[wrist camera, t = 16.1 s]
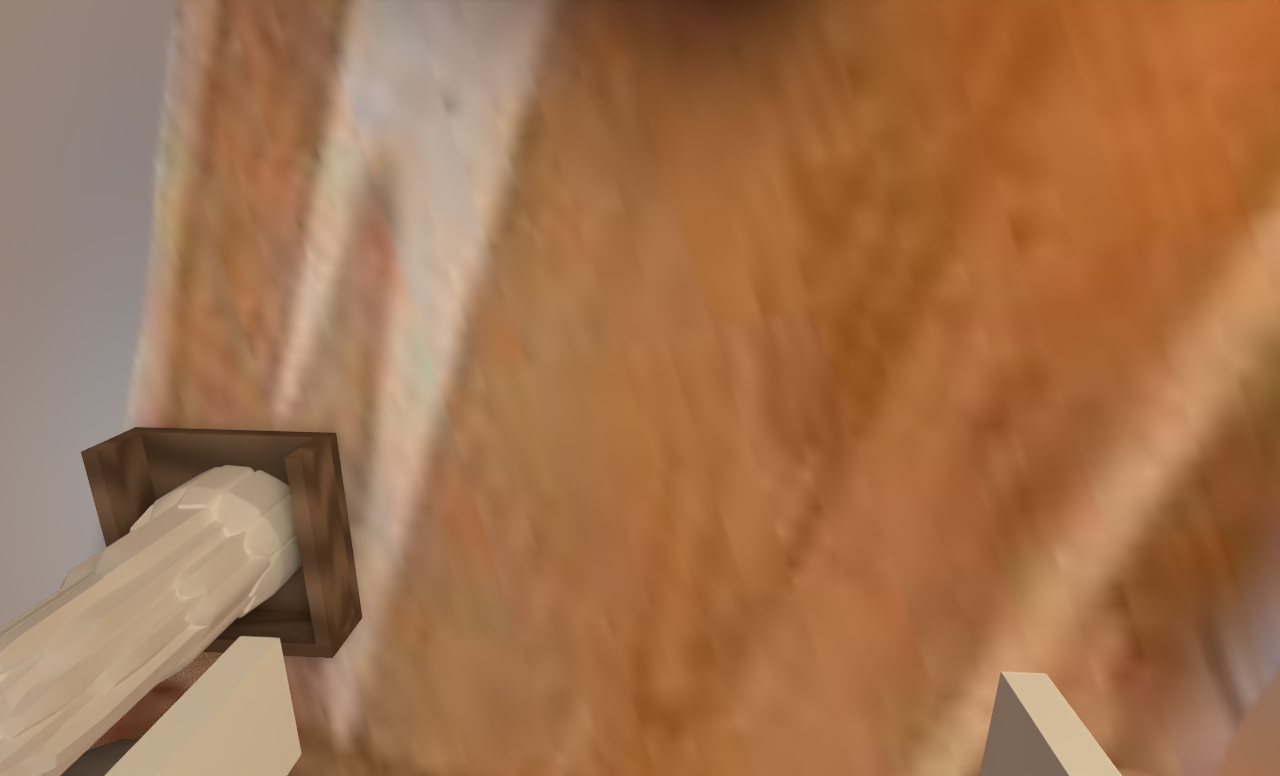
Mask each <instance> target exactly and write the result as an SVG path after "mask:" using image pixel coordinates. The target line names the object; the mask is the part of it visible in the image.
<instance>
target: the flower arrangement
mask: <svg viewBox="0 0 1280 776" xmlns="http://www.w3.org/2000/svg"><path fill="white" fill-rule="evenodd" d="M139 740H140V739H121V740H118V741H115V742H112V743H109V744H106V745H104V746H101V747H98V748H95V749H92V750H89V751H86V752H85V753H83V754H82V755H81V756H80V757H79V758H78V759H77V760H76V761H75V762H74V763H73V764H72V765H71V766H70V767H68V768H67V769H66V770H65V771H64V772H63V773H62V774H61V775H60V776H105V775H106V774H107V773H108V771H109V770H110V769H111V768H112V767H113V766H114V765H115V764H116V763H117V762H118V761H119V760H120V759H121V758H122V757H123V756H124V755H125V754H126V753H127V752H128V751H129V750H130V749H131V748H132V747H133V746H134V745H135V744H136V743H137V742H138V741H139Z"/></svg>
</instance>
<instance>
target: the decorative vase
mask: <svg viewBox="0 0 1280 776" xmlns="http://www.w3.org/2000/svg"><path fill="white" fill-rule="evenodd" d="M301 566H302V560H301V554H300V548H299V542H298V536H297V530H296V525H295V519H294V513H293V507H292V501H291V495H290V489H289V486H288V485H287V484H285V483H284V482H282V481H281V480H279V479H277V478H276V477H274V476H272V475H270V474H268V473H266V472H264V471H261V470H258V471H256V472H254V470H253V469H252V468H250V467H243V466H233V465H224V466H222V467H214V468H212V469H210V470H208V471H205V472H203V473H201V474H199V475H197V476H196V477H194V478H192V479H191V480H189V481H187V482H186V483H184V484H182V485H181V486H179V487H177V488H176V489H174V490H172V491H171V492H169V493H168V494H166V495H164V496H163V497H161V498H159V499H158V500H156V501H155V502H154V504H153V505H151V506H150V507H149V508H148V509H147V511H146V512H145V513H144V514H143V515H142V516H141V517H140V518H139V519H138V520H137V522H136V523H135V524H134V525H133V526H132V527H131V528H130V533H128V534H127V535H125V536H124V537H122V538H121V539H119V540H117V541H116V542H114V543H113V544H111V545H110V546H108V547H106V548H105V549H103V550H102V551H100V552H99V553H97V554H95V555H94V556H92V557H91V558H89V559H88V560H86V561H84V562H83V563H81V564H80V565H78V566H77V567H75V568H74V569H72V570H71V571H69V572H68V574H67V576H66V578H65V580H64V582H63V584H62V586H61V588H60V590H59V591H57V592H56V593H54V594H53V595H51V596H50V597H48V598H46V599H45V600H44V601H42V602H40V603H39V604H38V605H36V606H34V607H33V608H31V609H30V610H28V611H27V612H25V613H23V614H22V615H20V616H19V617H17V618H16V619H14V620H13V621H11V622H10V623H8V624H7V625H5V626H4V627H2V628H0V776H60V775H61V774H62V773H63V772H64V771H65V770H66V769H67V768H68V767H70V766H71V765H72V764H73V763H74V762H75V761H76V760H77V759H78V758H79V757H80V756H81V755H82V754H83V753H84V752H85V751H87V750H88V749H89V748H90V747H91V746H92V745H93V744H94V743H95V742H96V741H97V740H98V739H99V738H100V737H101V736H102V735H103V734H105V733H106V732H107V731H108V730H109V729H110V728H111V727H112V726H113V725H114V724H115V723H116V722H117V721H118V720H119V719H120V718H122V717H123V716H124V715H125V714H126V713H127V712H128V711H129V710H130V709H131V708H132V707H133V706H134V705H135V704H136V703H137V702H138V701H140V700H141V699H142V698H143V697H144V696H145V695H146V694H147V693H148V692H149V691H150V690H151V689H152V688H153V687H155V686H156V685H157V684H159V683H160V682H162V681H164V680H166V679H167V678H169V677H171V676H173V675H174V674H176V673H177V672H179V671H180V670H182V669H183V668H184V667H186V666H187V665H189V664H190V663H191V662H192V661H193V660H194V659H195V658H196V657H197V656H198V655H200V654H201V653H202V652H203V651H204V650H205V649H206V648H207V647H208V646H209V645H210V644H211V643H212V642H213V641H214V640H215V639H216V638H217V637H218V636H219V635H220V634H221V633H222V632H223V631H224V630H225V629H226V628H227V627H228V626H229V625H230V624H231V623H232V622H233V621H234V620H235V619H236V618H237V617H239V618H241V617H243V616H244V615H246V614H247V613H248V612H250V611H251V610H253V609H254V608H255V607H257V606H258V605H260V604H261V603H262V602H264V601H265V600H267V599H268V598H270V597H271V596H272V595H274V594H275V593H276V592H277V591H278V590H279V589H280V588H281V587H282V586H283V585H284V584H285V583H286V582H287V581H288V580H289V579H290V578H291V577H292V575H293V574H294V573H295V572H296V571H297V570H298V569H299V568H300V567H301Z"/></svg>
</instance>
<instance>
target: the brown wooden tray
mask: <svg viewBox="0 0 1280 776" xmlns="http://www.w3.org/2000/svg"><path fill="white" fill-rule="evenodd" d="M81 454H82V457H83V461H84V465H85V468H86V472H87V476H88V480H89V483H90V487H91V491H92V495H93V498H94V502H95V506H96V510H97V513H98V517H99V521H100V525H101V528H102V532H103V536H104V539H105V543H106V547H108V546H110V545H111V544H113V543H114V542H116V541H117V540H119V539H121V538H122V537H124V536H125V535H127V534H128V533H130V528H131V527H132V526H133V525H134V524H135V523H136V522H137V520H138V519H139V518H140V517H141V516H142V515H143V514H144V513H145V512H146V511H147V509H148V508H149V507H150V506H151V505H153V504H154V502H155V501H156V500H158V499H159V498H161V497H163V496H164V495H166V494H168V493H169V492H171V491H172V490H174V489H176V488H177V487H179V486H181V485H182V484H184V483H186V482H187V481H189V480H191V479H192V478H194V477H196V476H197V475H199V474H201V473H203V472H205V471H208V470H210V469H212V468H214V467H222V466H224V465H233V466H243V467H250V468H252V469H253V470H254V472H256V471H258V470H261V471H264V472H266V473H268V474H270V475H272V476H274V477H276V478H277V479H279V480H281V481H282V482H284V483H285V484H287V485H288V486H289V489H290V495H291V501H292V507H293V513H294V519H295V525H296V530H297V536H298V542H299V548H300V554H301V560H302V566H301V567H300V568H299V569H298V570H297V571H296V572H295V573H294V574H293V575H292V577H291V578H290V579H289V580H288V581H287V582H286V583H285V584H284V585H283V586H282V587H281V588H280V589H279V590H278V591H277V592H276V593H275V594H274V595H272V596H271V597H270V598H268V599H267V600H265V601H264V602H262V603H261V604H260V605H258V606H257V607H255V608H254V609H253V610H251V611H250V612H248V613H247V614H246V615H244V616H243V617H241V618H239V617H237V618H236V619H235V620H234V621H233V622H232V623H231V624H230V625H229V626H228V627H227V628H226V629H225V630H224V631H223V632H222V633H221V634H220V635H219V636H218V637H217V638H216V639H215V640H214V641H213V642H212V643H211V644H210V645H209V646H208V647H207V648H206V649H205V650H204V651H203V652H222V653H224V652H225V651H226V650H227V649H228V648H229V647H230V646H231V645H232V644H233V643H234V642H235V641H236V640H237V639H238V638H239V637H240V636H249V637H271V638H280V642H281V647H282V653H283V655H284V656H305V657H326V658H333V657H334V655H335V654H336V653H337V651H338V650H339V649H340V647H341V646H342V644H343V643H344V642H345V640H346V639H347V638H348V636H349V635H350V634H351V632H352V631H353V629H354V628H355V627H356V625H357V624H358V623H359V621H360V620H361V619H362V613H361V606H360V599H359V592H358V585H357V578H356V571H355V564H354V557H353V550H352V543H351V536H350V529H349V521H348V514H347V507H346V500H345V493H344V486H343V479H342V472H341V465H340V458H339V451H338V444H337V437H336V433H316V432H281V431H245V430H210V429H175V428H140V427H135V428H133V429H131V430H129V431H127V432H124V433H122V434H120V435H118V436H115V437H113V438H111V439H109V440H107V441H104V442H102V443H100V444H98V445H95V446H93V447H91V448H89V449H86V450H84V451H82V452H81Z"/></svg>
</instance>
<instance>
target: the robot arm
mask: <svg viewBox="0 0 1280 776" xmlns="http://www.w3.org/2000/svg"><path fill="white" fill-rule="evenodd" d="M300 755H301V749H300V743H299V738H298V733H297V727H296V722H295V717H294V711H293V706H292V701H291V695H290V690H289V685H288V679H287V674H286V669H285V663H284V658H283V653H282V647H281V642H280V638H271V637H249V636H240V637H239V638H238V639H237V640H236V641H235V642H234V643H233V644H232V645H231V646H230V647H229V648H228V649H227V650H226V651H225V652H224V653H223V654H222V655H221V656H220V657H219V658H218V659H217V661H216V662H215V663H214V664H213V665H212V666H211V667H210V668H209V669H208V670H207V671H206V672H205V673H204V674H203V675H202V676H201V677H200V678H199V679H198V680H197V681H196V682H195V683H194V684H193V685H192V686H191V687H190V688H189V689H188V690H187V691H186V692H185V693H184V694H183V695H182V696H181V698H180V699H179V700H178V701H177V702H176V703H175V704H174V705H173V706H172V707H171V708H170V709H169V710H168V711H167V712H166V713H165V714H164V715H163V716H162V717H161V718H160V719H159V720H158V721H157V722H156V723H155V724H154V725H153V726H152V727H151V728H150V729H149V730H148V731H147V732H146V733H145V734H144V736H143V737H142V738H141V739H140V740H139V741H138V742H137V743H136V744H135V745H134V746H133V747H132V748H131V749H130V750H129V751H128V752H127V753H126V754H125V755H124V756H123V757H122V758H121V759H120V760H119V761H118V762H117V763H116V764H115V765H114V766H113V767H112V768H111V769H110V770H109V771H108V773H107V774H106V775H105V776H287V775H288V774H289V772H290V770H291V769H292V767H293V766H294V764H295V763H296V761H297V760H298V758H299V757H300ZM980 776H1122V775H1121V774H1120V773H1119V771H1118V770H1117V769H1116V767H1115V766H1114V765H1113V763H1112V762H1111V761H1110V759H1109V758H1108V756H1107V755H1106V754H1105V752H1104V751H1103V750H1102V748H1101V747H1100V746H1099V744H1098V743H1097V742H1096V740H1095V739H1094V738H1093V736H1092V735H1091V734H1090V732H1089V731H1088V730H1087V728H1086V727H1085V725H1084V724H1083V723H1082V721H1081V720H1080V719H1079V717H1078V716H1077V715H1076V713H1075V712H1074V711H1073V709H1072V708H1071V707H1070V705H1069V704H1068V703H1067V701H1066V700H1065V699H1064V697H1063V696H1062V694H1061V693H1060V692H1059V690H1058V689H1057V688H1056V686H1055V685H1054V684H1053V682H1052V681H1051V680H1050V678H1049V677H1048V676H1047V674H1044V673H1023V672H1001V674H1000V679H999V684H998V689H997V694H996V698H995V703H994V708H993V713H992V718H991V723H990V728H989V732H988V737H987V742H986V747H985V752H984V757H983V761H982V766H981V771H980Z"/></svg>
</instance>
